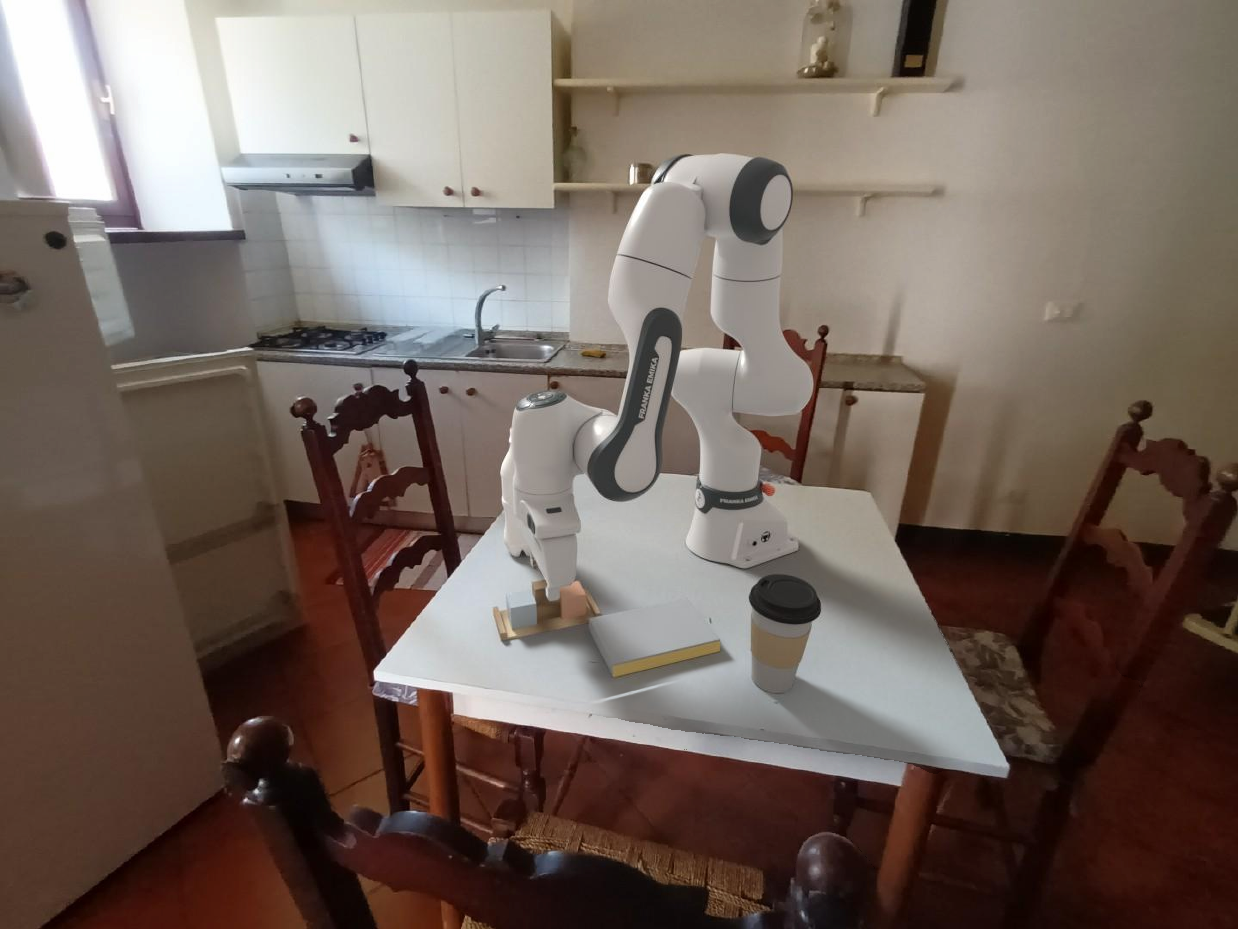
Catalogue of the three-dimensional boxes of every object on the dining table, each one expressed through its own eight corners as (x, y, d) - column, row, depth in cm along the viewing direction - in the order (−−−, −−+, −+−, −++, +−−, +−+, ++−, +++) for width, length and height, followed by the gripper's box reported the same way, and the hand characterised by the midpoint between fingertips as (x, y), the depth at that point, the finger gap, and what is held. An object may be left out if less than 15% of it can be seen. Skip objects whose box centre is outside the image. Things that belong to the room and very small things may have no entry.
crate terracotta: (578, 601, 101) (578, 580, 100) (585, 614, 98) (586, 594, 96) (555, 605, 100) (555, 585, 98) (562, 620, 96) (561, 599, 95)
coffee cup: (734, 655, 90) (745, 569, 85) (797, 658, 90) (812, 572, 85) (744, 702, 82) (757, 609, 76) (814, 705, 82) (832, 613, 76)
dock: (686, 610, 100) (687, 598, 100) (719, 653, 91) (721, 639, 90) (589, 631, 95) (589, 618, 94) (613, 679, 85) (613, 665, 84)
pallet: (587, 600, 103) (587, 563, 101) (600, 624, 97) (601, 586, 95) (493, 618, 98) (490, 580, 95) (501, 645, 92) (498, 606, 89)
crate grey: (531, 610, 98) (530, 589, 97) (537, 624, 95) (536, 603, 93) (507, 614, 97) (505, 593, 96) (511, 629, 94) (510, 608, 92)
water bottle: (535, 562, 113) (530, 437, 104) (498, 557, 114) (491, 433, 105) (546, 544, 120) (544, 424, 110) (512, 539, 121) (506, 420, 111)
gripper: (507, 477, 97) (510, 553, 102) (539, 534, 79) (541, 622, 84) (545, 473, 99) (546, 547, 104) (585, 527, 82) (584, 614, 87)
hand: (544, 581), depth 94 cm, fingers open, 8 cm apart
